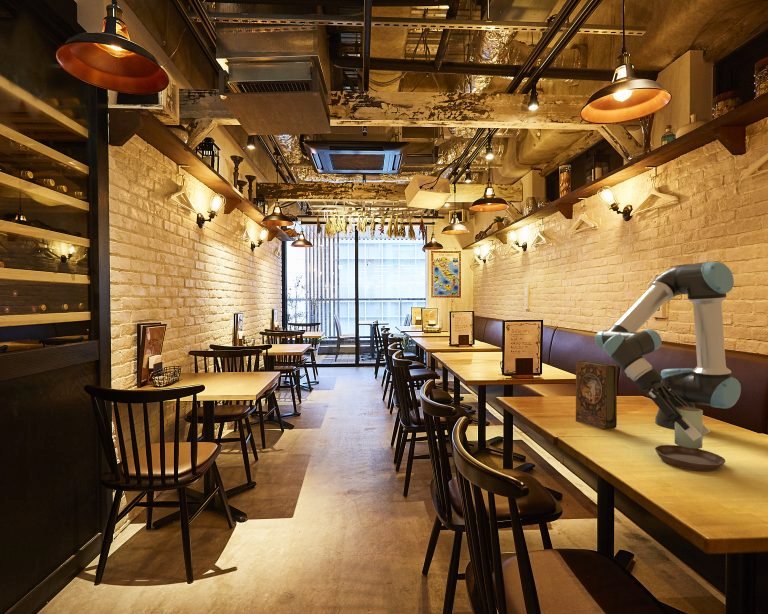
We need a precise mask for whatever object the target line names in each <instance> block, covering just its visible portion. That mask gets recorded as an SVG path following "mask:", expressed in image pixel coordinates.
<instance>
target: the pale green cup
mask: <svg viewBox="0 0 768 614" xmlns="http://www.w3.org/2000/svg"><path fill="white" fill-rule="evenodd" d="M675 408H676V409H677V411H678V412H679V413H680V415H681V416H682V418H683V417H685V418H686V419H687V420H688V421H689V422H690V424H691V425H692V426H693V427H694V428H695V429H696V430H697V431H698V432H699V433H700V434H701V435H702V436H701V437H699V438H698V439H696V440H695V441H693V440H692V439H691V438H690V437H689V436H688V435H687V434H686V432H685V431H684V430H683V429H682V428H681V427H680V426H679V425H678V424H677V423H676V422H675V429H674V445H678V446H682V447H686V448H694V449H702V448H703V437H704V436H703V424H704V423H703V419H704V418H703V417H704V414H703V413H704V410H703V409H701V408H698V407H696V406H695V407H689V406H677V407H675Z"/></svg>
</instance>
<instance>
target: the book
mask: <svg viewBox="0 0 768 614" xmlns="http://www.w3.org/2000/svg"><path fill="white" fill-rule="evenodd" d="M617 369H618V368H617V365H616V364H610V363H603V362H598V361H597V362H595V361H589V360H576V361H575V421H576V422H578V423H581V424H584V425H588V426H591V427H594V428H598V429H601V430H607V429H616V428H617V425H618V424H617V423H618V420H617V419H618V418H617V416H618V415H617V413H618V411H617V409H618V408H617V407H618V405H617V404H618V402H617V400H618V398H617V397H618V396H617V393H618V390H617V389H618V387H617V384H618V382H617V380H618V379H617V377H618V376H617Z"/></svg>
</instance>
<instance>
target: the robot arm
mask: <svg viewBox="0 0 768 614" xmlns="http://www.w3.org/2000/svg"><path fill="white" fill-rule="evenodd" d="M734 282H735V280H734V275H733V272H732V271H731V268H730V267H728V266H727V265H726V264H725V263H723V262H721V261H706V262H699V263H698V262H696V263H688V264H678V265H675V266H673V267H670V268H669V269H667V270H665V271H663V272H662V273H661V274H659V275H658V276H656V277H655V278H654V279H653V280H652V281H651V282H650V283H649V284H648V286H647V290H646V291H645V292H644V293H643V294H642V295H641V296H640V297H639V298H638V299H637V300H636V301H635V302H634V303H633V304H632V305H631V306H630V307H629V308H628V310H626V311H625V312H624V313H623V314H622V316H621V317H619V318H618V319H617V321H615V323H613V324H612V326H611V327H610V328H609V329H608V330H607V329H604V330H599V331H597V332H596V334H595V337H594V343H595V346H596V347H597V348H598V349H600V350H603V351H605V352H606V354H607V355H608V357H609V358H611V360H613V362H615V364H617V366H618V367H619V368H620V369H622V371H623V372H624V373H625V374H626V377H627V378H629V379H631V381H633V382H634V384H635V385H636V386H637V387H638V388H639V389H640V391H642V392H645V391H648V393H646V395H647V397H648V398H649V399H650V400H652V402H653V403H654V404H655V405H656V406H657V407H658V410H657V413H656V415H655V424H656V425H658V426H661V427H665V428H668V429H673V430H675V422H676V423H677V424H678V425H679V426H680V427H681V428H682V429H683V430H684V431H685V432H686V434H687V435H688V436H689V437H690V438H691V439H692V440H693V441H695V440H696V439H698V438H699V437H701V436H702V435H701V434H700V433H699V432H698V431H697V430H696V429H695V428H694V427H693V426H692V425H691V424H690V422H689V421H688V420H687V419H686V418H685V417H683V418H682V416H681V415H680V413H679V412H678V411H677V409H676V408H675V407H677V406H689V407H695V408H696V406H695V405H696V404H697V405H702V406H707V407H712V408H716V409H717V408H718V409H730V408H732V407H733V406H735V405H736V403H738V402H737V401H739V399H740V396H741V393H742V387H741V382H739V380H738V379H736V378H735V377H733V376H732V370H731V369H729V368H728V367H727V363H726V362H727V361H726V350H725V349H726V348H725V346H726V345H725V336H724V335H725V334H724V320H723V306H722V305H723V304H722V303H723V301H724V300H725V299H727V294H728V293H730V292H731V291H732V290H733V286H734V284H735V283H734ZM681 295H687V300H688V301H689V302H690V303H692V306H693V307H692V308H693V321H694V336H695V348H696V349H695V351H696V361H697V362H696V364H697V365H696V367H694V368H687V367H686V368H665V369H662V370H661V371H660V373H659V372H658V371H657V370H656V368H655V369H654V368H653V366H652V364H651V363H649V361H647V360H646V358H644V356H646V355H648V354H650V353H653V352H655V351H656V350H658V349H660V347H661V346H662V342H663V341H662V338H661V337H662V336H661V335H660V334H659V333H658V331H656V330H654V329H650V328H649V329H644V330H641V331H640V332H638V330H640V328H641V327H642V326H644V324H645V323H647V321H649V319H650V318H651V317H652V316H653V315H655V313H656V312H657V311H658V310H659V309H660V308H661V307H662V306H663V305H664V304H665V303H667V302H670V301H671V300H672V299H673V298H674V297H675V298H676V297H677V296H681ZM710 432H711V430H709V428H708V427H707V426H706V425H705V424H704V423H703V437H704V436H706V435H707V434H708V433H710Z"/></svg>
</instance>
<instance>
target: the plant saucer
mask: <svg viewBox="0 0 768 614" xmlns="http://www.w3.org/2000/svg"><path fill="white" fill-rule="evenodd" d="M654 450H655V452H656V453H657V454H656V455H658V456H659V458H660V459H661V460H662V461H663V462H664V463H667V464H669V465H671V466H673V467H677V468H681V469H686V470H690V469H691V471H697V470H698V472H699V471H700V472H712V471H716V470H718V469H720V468H721V467H723V465H724V464H725V463H726V459H725V458H724V457H722V456H721V455H719V454H716V453H715V452H711V451H709V450H705V449H702V448H699V449H694V448H686V447H682V446H679V445H676V444H662V445H657V446H655V447H654Z"/></svg>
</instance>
